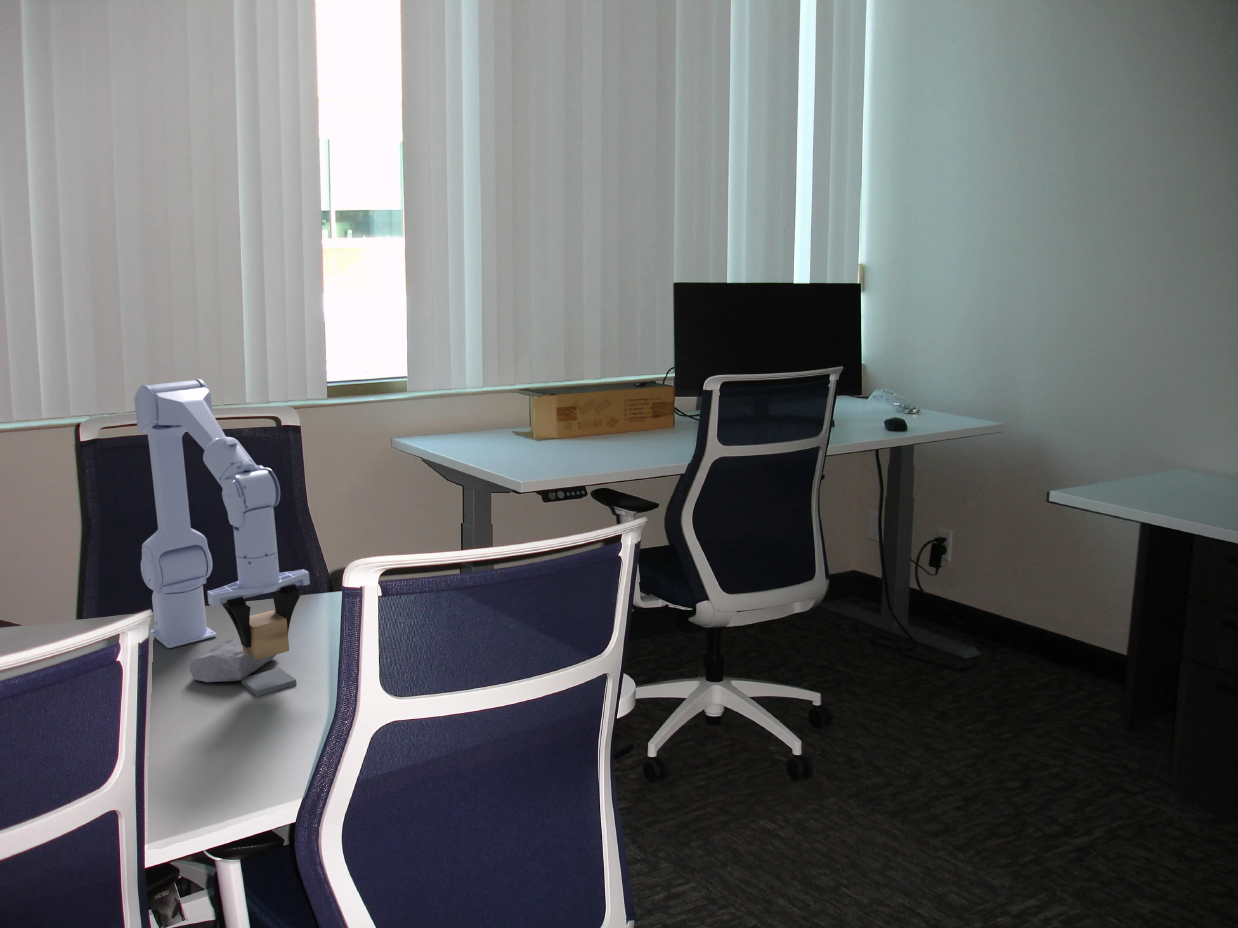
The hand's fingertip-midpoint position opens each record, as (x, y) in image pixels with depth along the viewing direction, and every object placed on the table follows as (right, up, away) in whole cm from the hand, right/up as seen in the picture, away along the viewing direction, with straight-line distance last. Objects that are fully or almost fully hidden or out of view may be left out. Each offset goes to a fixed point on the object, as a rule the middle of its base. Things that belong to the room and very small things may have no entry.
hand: (264, 640), depth 155 cm
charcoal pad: (0, -7, +1) cm, 7 cm away
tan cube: (0, -2, 0) cm, 2 cm away
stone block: (-7, -6, +7) cm, 11 cm away
